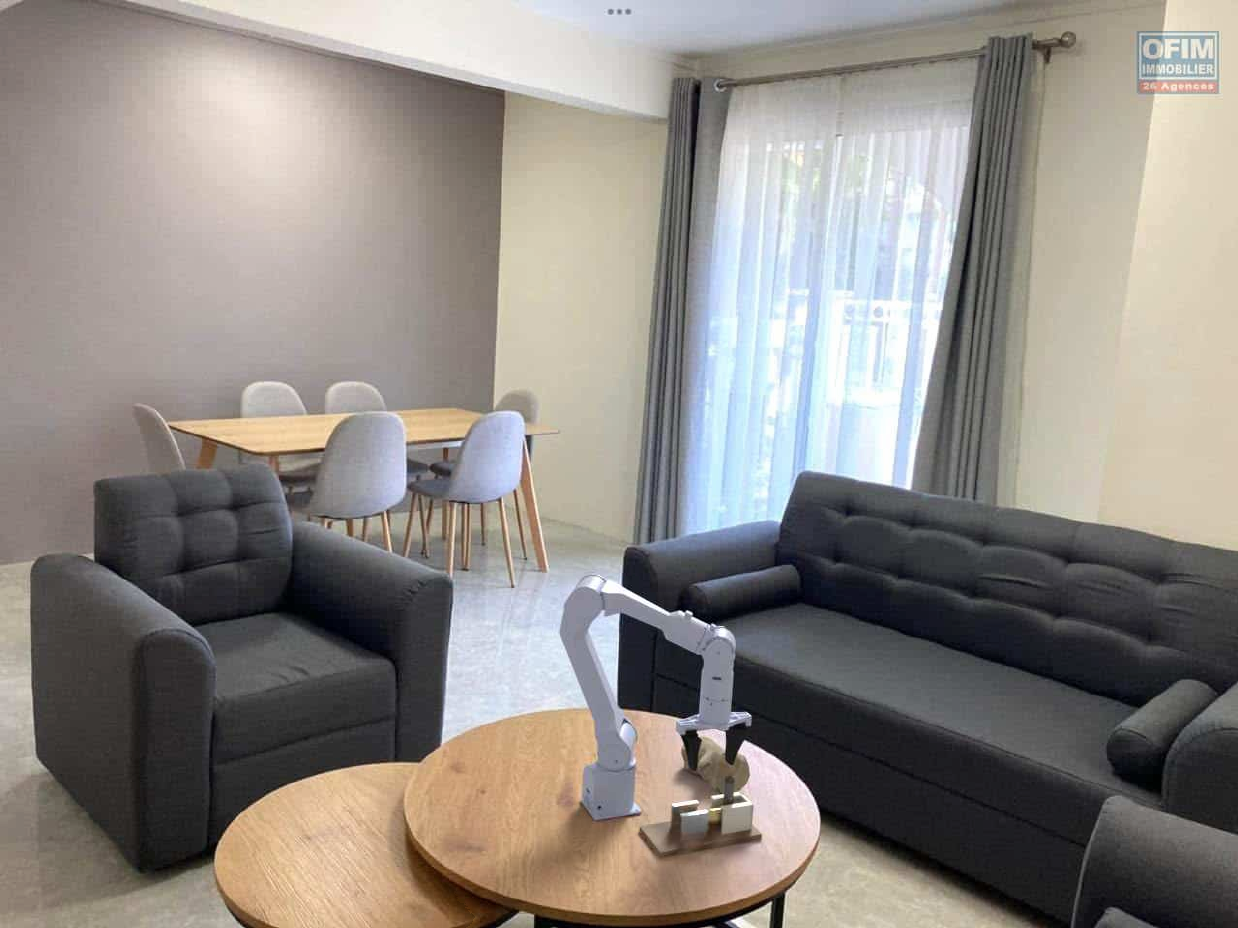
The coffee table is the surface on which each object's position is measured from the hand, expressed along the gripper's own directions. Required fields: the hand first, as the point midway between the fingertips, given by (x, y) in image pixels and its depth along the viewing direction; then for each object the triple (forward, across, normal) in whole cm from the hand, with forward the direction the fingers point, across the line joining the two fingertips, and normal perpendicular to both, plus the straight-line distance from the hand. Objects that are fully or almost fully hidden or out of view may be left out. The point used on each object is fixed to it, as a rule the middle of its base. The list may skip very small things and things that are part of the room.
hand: (711, 765), depth 183 cm
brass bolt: (+9, -1, -5) cm, 10 cm away
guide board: (+10, -4, -5) cm, 12 cm away
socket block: (+10, +2, -5) cm, 12 cm away
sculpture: (+11, +8, +13) cm, 18 cm away
